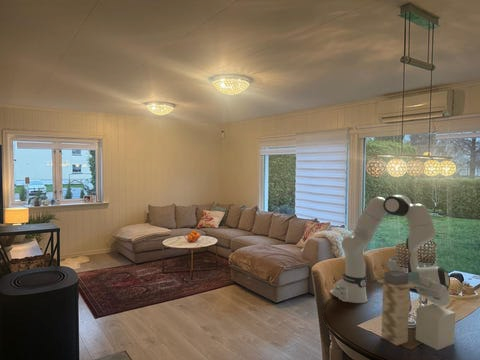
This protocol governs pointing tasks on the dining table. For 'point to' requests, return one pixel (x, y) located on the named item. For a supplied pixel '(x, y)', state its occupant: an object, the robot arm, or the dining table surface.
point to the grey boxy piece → (400, 277)
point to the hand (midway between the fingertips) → (411, 276)
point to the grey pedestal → (435, 326)
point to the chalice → (393, 265)
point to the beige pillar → (395, 311)
